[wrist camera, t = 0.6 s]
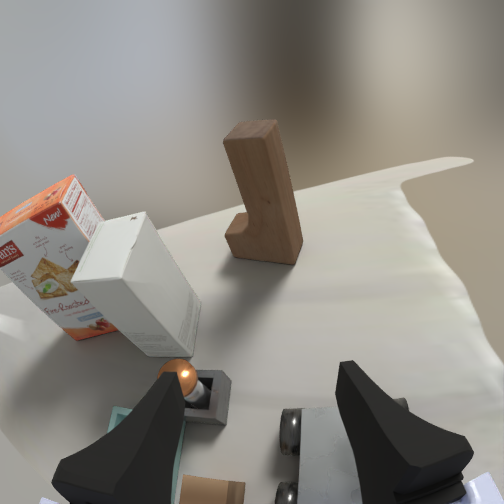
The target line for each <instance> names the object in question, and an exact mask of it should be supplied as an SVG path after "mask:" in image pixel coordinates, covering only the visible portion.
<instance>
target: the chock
mask: <svg viewBox="0 0 504 504" xmlns="http://www.w3.org/2000/svg"><path fill="white" fill-rule="evenodd" d="M244 493H245V482H234V481H225V480H217V479H209V478H202V477H196V476H190V475H184V474H183V479H182V487H181V494H180V502H179V504H243V503H244Z"/></svg>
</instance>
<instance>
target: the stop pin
mask: <svg viewBox="0 0 504 504" xmlns="http://www.w3.org/2000/svg"><path fill="white" fill-rule="evenodd" d="M163 372H177V375H178V378H179V382H180V385H181V389H182V392H183V396H184V399H185V400H186V401H187V402H189V403H190V404H191V405H193V406H194V407H196V408H197V409H202V410H209V405H210V398H211V391H210V390H209V389H208V388H207V387H206V386H205V385H203V384H202V383H201V382H200V381H199V380H198V374H197V371H196V369H195V368H194V367H193V366H192V365H191V364H190V363H189V362H188V361H186V360H184V359H173V360H170V361H168V362H167V363H165V364H164V365H163V366H162V368H161V369H160V371H159V373H158V377H157V379H158V378H159V377H160V375H161V374H162V373H163Z"/></svg>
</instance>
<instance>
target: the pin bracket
mask: <svg viewBox="0 0 504 504" xmlns="http://www.w3.org/2000/svg"><path fill="white" fill-rule="evenodd" d="M196 371H197V374H198V380H199V381H200V382H201V383H202V384H203V385H205V386H206V387H212V391H211V398H210V405H209V410H202V409H191V404H190V403H189V402H187V401H186V400H185V412H184V421H186V422H195V423H206V424H219V425H226V424H227V415H228V407H229V398H230V390H231V380H230V378H229V377H228V376H227V375H226V374H225V373H224V372H223V371H222V370H196Z"/></svg>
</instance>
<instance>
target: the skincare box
mask: <svg viewBox="0 0 504 504" xmlns="http://www.w3.org/2000/svg"><path fill="white" fill-rule="evenodd" d="M71 283H72V284H73V285H74V286H75V287H76V288H77V289H78V290H79V291H80V292H81V293H82V294H83V296H84V297H85V298H86V299H87V300H88V301H89V302H90V303H91V304H92V305H93V306H94V307H95V308H96V309H97V310H98V311H99V312H100V313H101V314H102V315H103V316H104V317H105V318H107V319H108V320H109V321H110V322H111V323H112V324H113V325H114V326H115V327H116V328H117V329H118V330H119V331H120V332H121V333H122V334H124V335H125V336H126V337H127V338H128V339H129V340H130V341H131V342H132V343H134V344H135V345H136V346H137V347H138V348H139V349H140V350H142V351H143V352H144V353H145V354H146V355H147V356H149V357H192V356H193V350H194V343H195V337H196V331H197V325H198V319H199V312H200V306H201V301H200V299H199V298H198V296H197V295H196V293H195V292H194V290H193V289H192V287H191V286H190V284H189V283H188V281H187V280H186V278H185V276H184V275H183V273H182V272H181V270H180V268H179V267H178V265H177V264H176V262H175V260H174V259H173V257H172V255H171V254H170V252H169V251H168V249H167V247H166V246H165V244H164V242H163V241H162V239H161V237H160V236H159V234H158V232H157V231H156V229H155V227H154V226H153V224H152V222H151V220H150V218H149V217H148V214H147V212H140V213H137V214H132V215H128V216H124V217H120V218H116V219H112V220H107V221H103V222H100V223H99V224H98V226H97V228H96V230H95V232H94V234H93V236H92V238H91V240H90V242H89V244H88V246H87V248H86V250H85V252H84V254H83V256H82V258H81V260H80V262H79V264H78V267H77V269H76V271H75V273H74V275H73V277H72V279H71Z"/></svg>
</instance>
